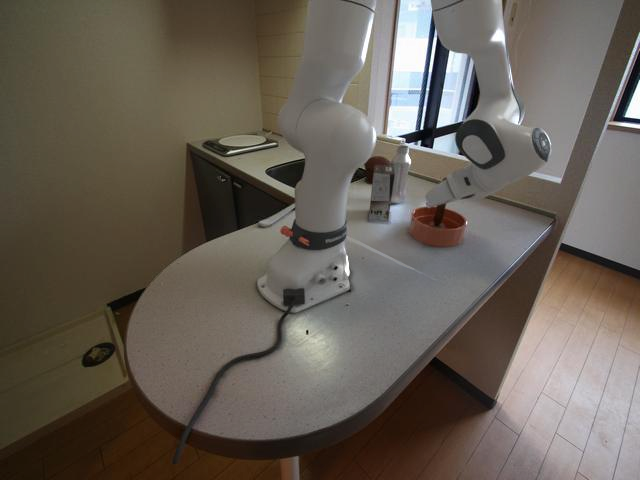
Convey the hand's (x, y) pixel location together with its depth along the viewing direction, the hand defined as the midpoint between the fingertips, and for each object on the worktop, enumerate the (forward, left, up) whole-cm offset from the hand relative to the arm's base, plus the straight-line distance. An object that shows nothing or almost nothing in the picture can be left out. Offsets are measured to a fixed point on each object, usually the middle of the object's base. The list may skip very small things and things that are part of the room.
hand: (440, 202), depth 89 cm
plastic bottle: (+12, +21, -11) cm, 27 cm away
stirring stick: (0, -1, -10) cm, 10 cm away
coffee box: (-2, +18, -11) cm, 21 cm away
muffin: (+25, +40, -11) cm, 48 cm away
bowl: (0, -1, -10) cm, 11 cm away
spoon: (-18, +41, -11) cm, 47 cm away
